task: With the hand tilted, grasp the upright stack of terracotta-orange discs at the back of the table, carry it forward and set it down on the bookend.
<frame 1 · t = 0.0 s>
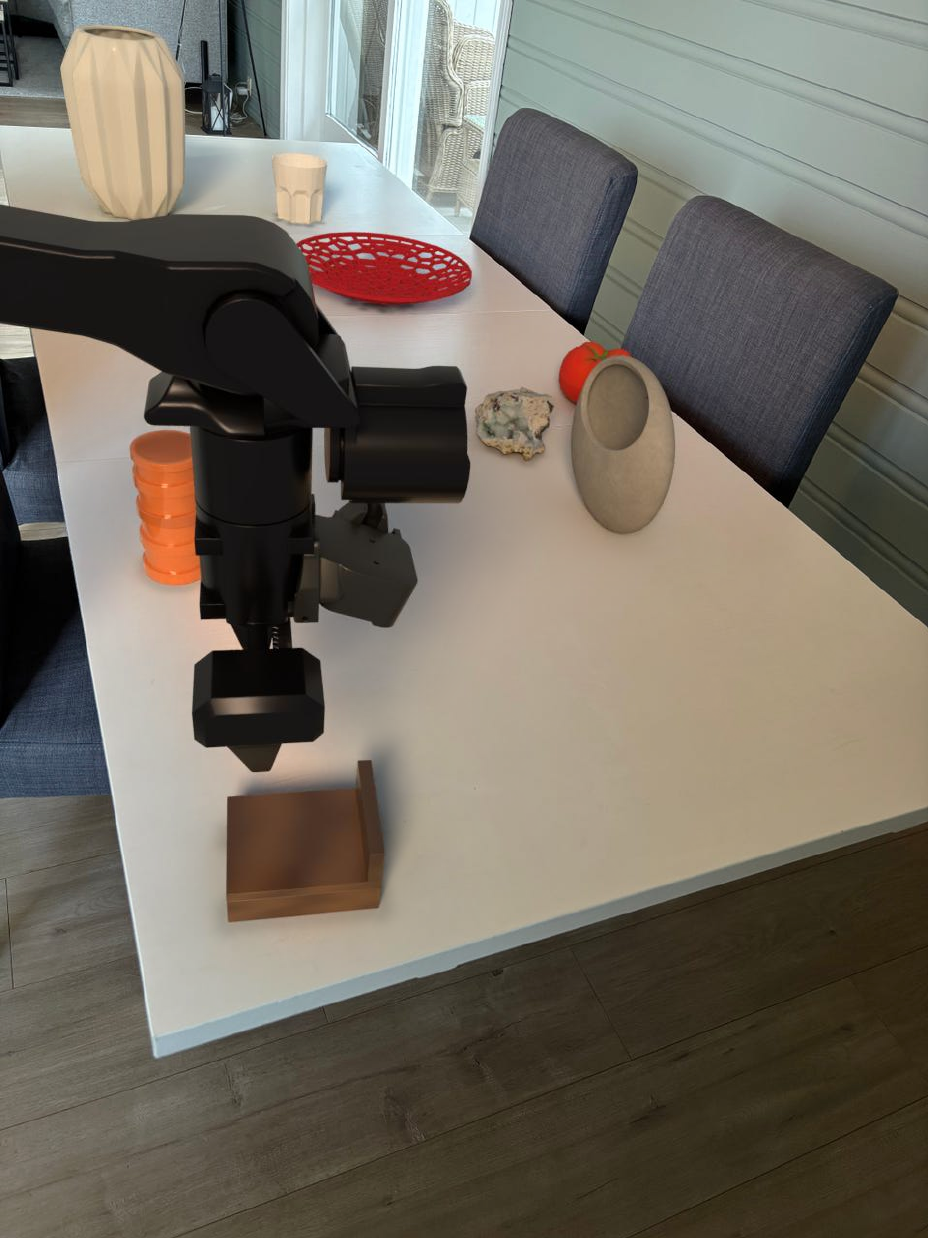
hand: (259, 711, 56), 14 cm above the table, tool pointing down, fingers open, 9 cm apart
mineral specimen: (507, 440, 116), on the table
cup: (298, 217, 174), on the table
bowl: (378, 295, 149), on the table
planter: (600, 520, 104), on the table
disc stack: (177, 565, 88), on the table
bookend: (301, 865, 64), on the table
vase: (137, 211, 165), on the table
tomato: (593, 403, 128), on the table
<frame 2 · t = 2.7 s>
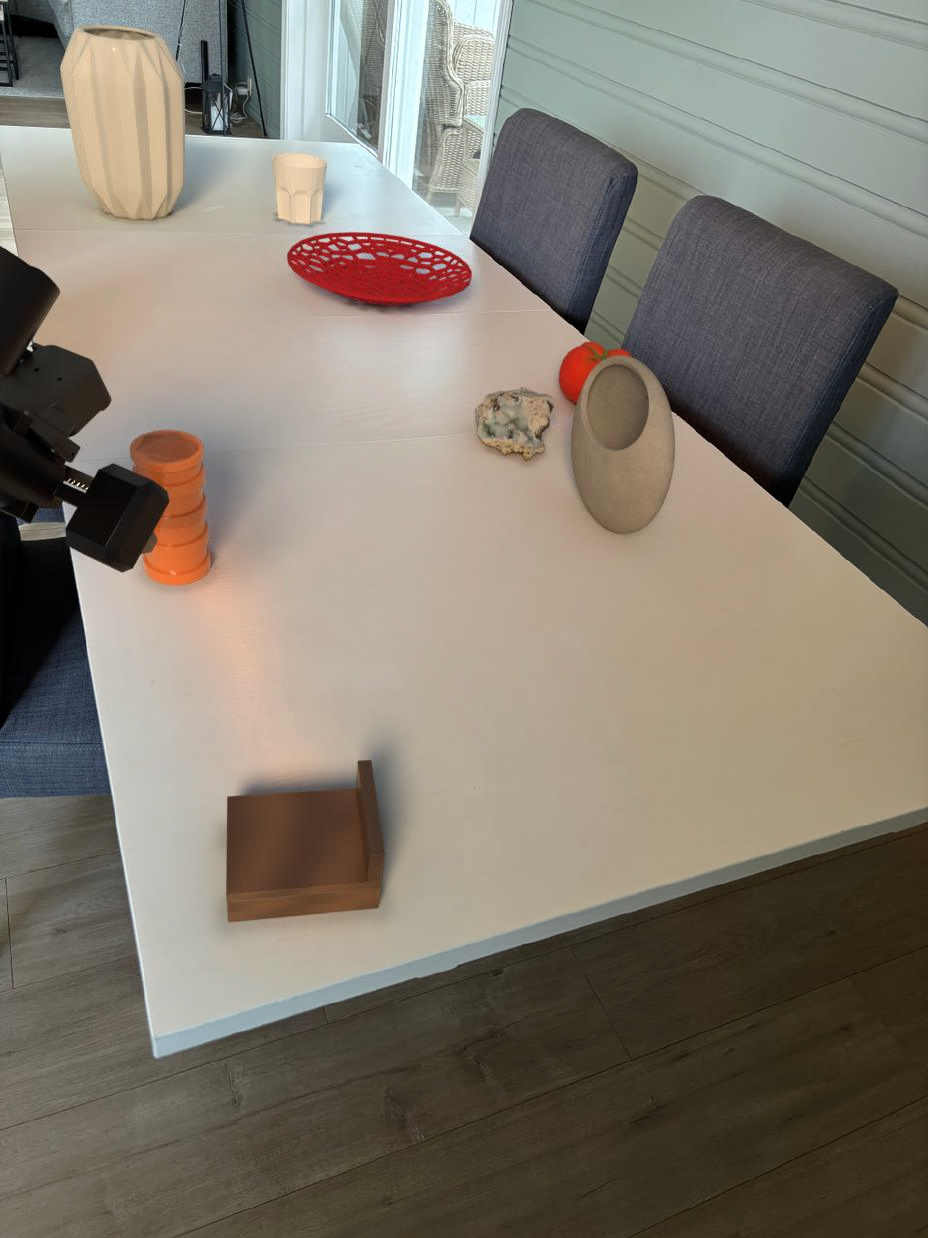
hand: (105, 523, 70), 13 cm above the table, tool tilted 40°, fingers open, 9 cm apart
nothing on the table moved.
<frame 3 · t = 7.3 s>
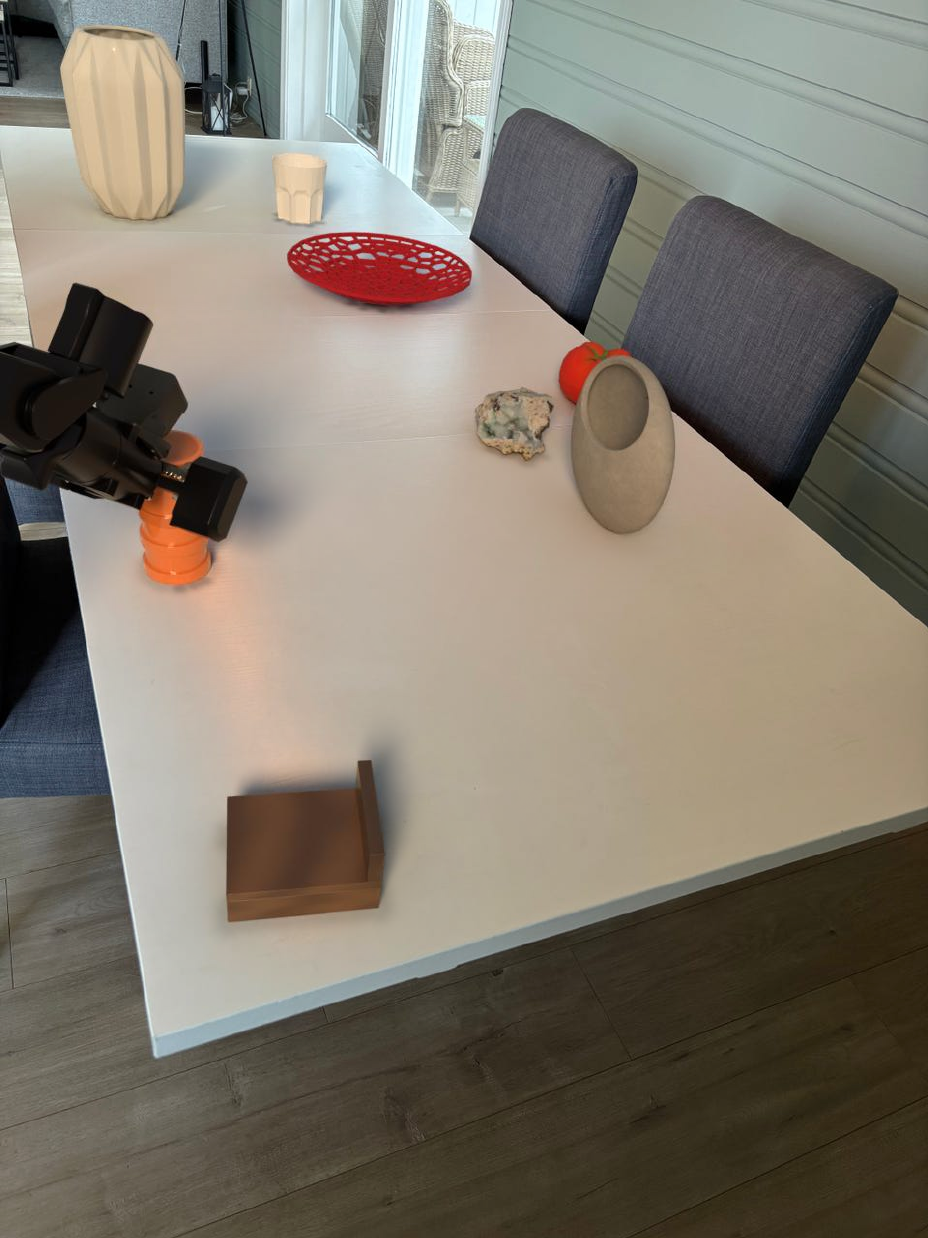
hand: (181, 501, 85), 7 cm above the table, tool tilted 45°, fingers closed on disc stack, 6 cm apart
disc stack: (177, 565, 88), on the table, touching gripper
everything else where it was.
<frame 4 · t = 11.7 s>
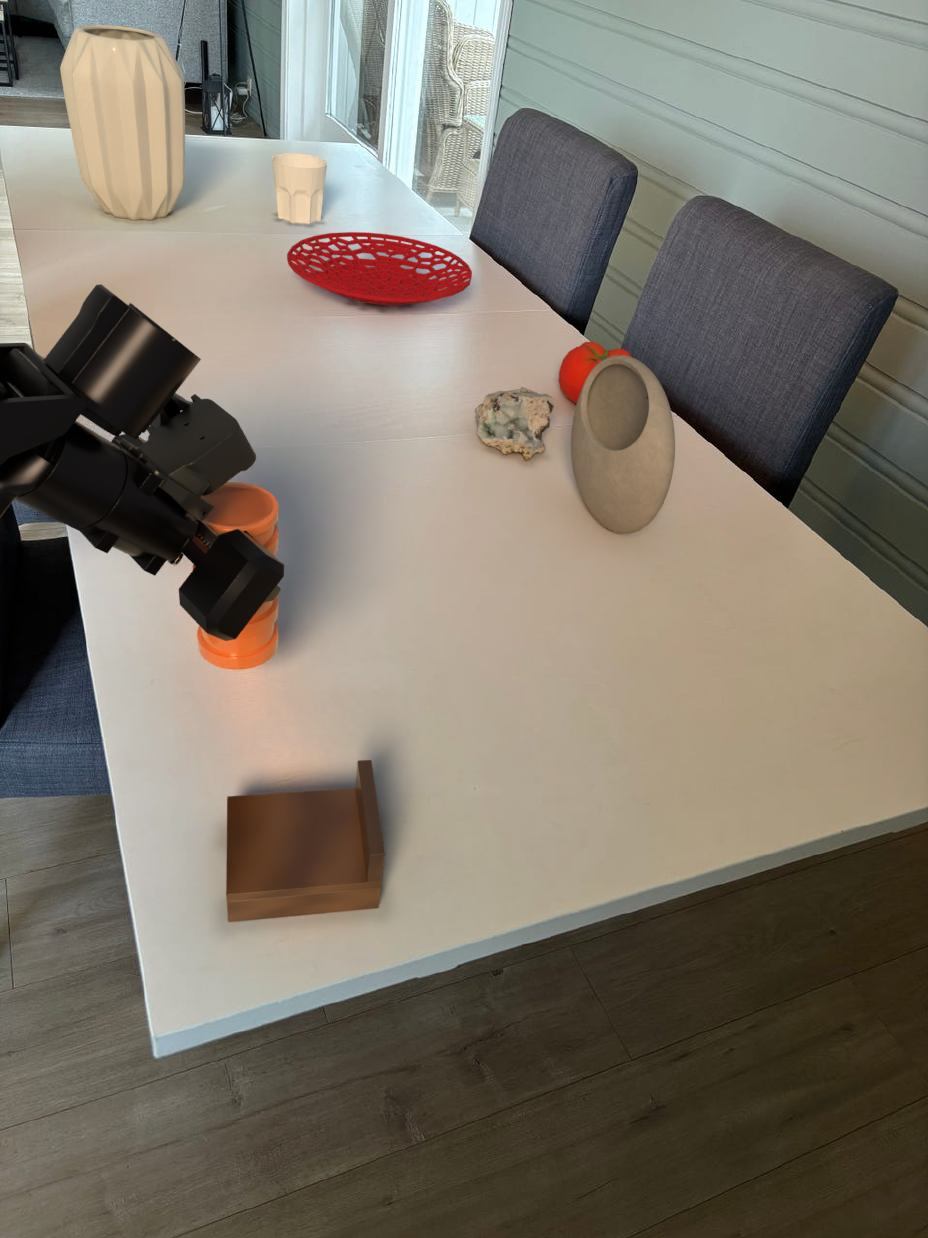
hand: (252, 571, 69), 12 cm above the table, tool tilted 45°, fingers closed on disc stack, 6 cm apart
disc stack: (238, 643, 72), point 6 cm above the table, touching gripper
everything else where it was.
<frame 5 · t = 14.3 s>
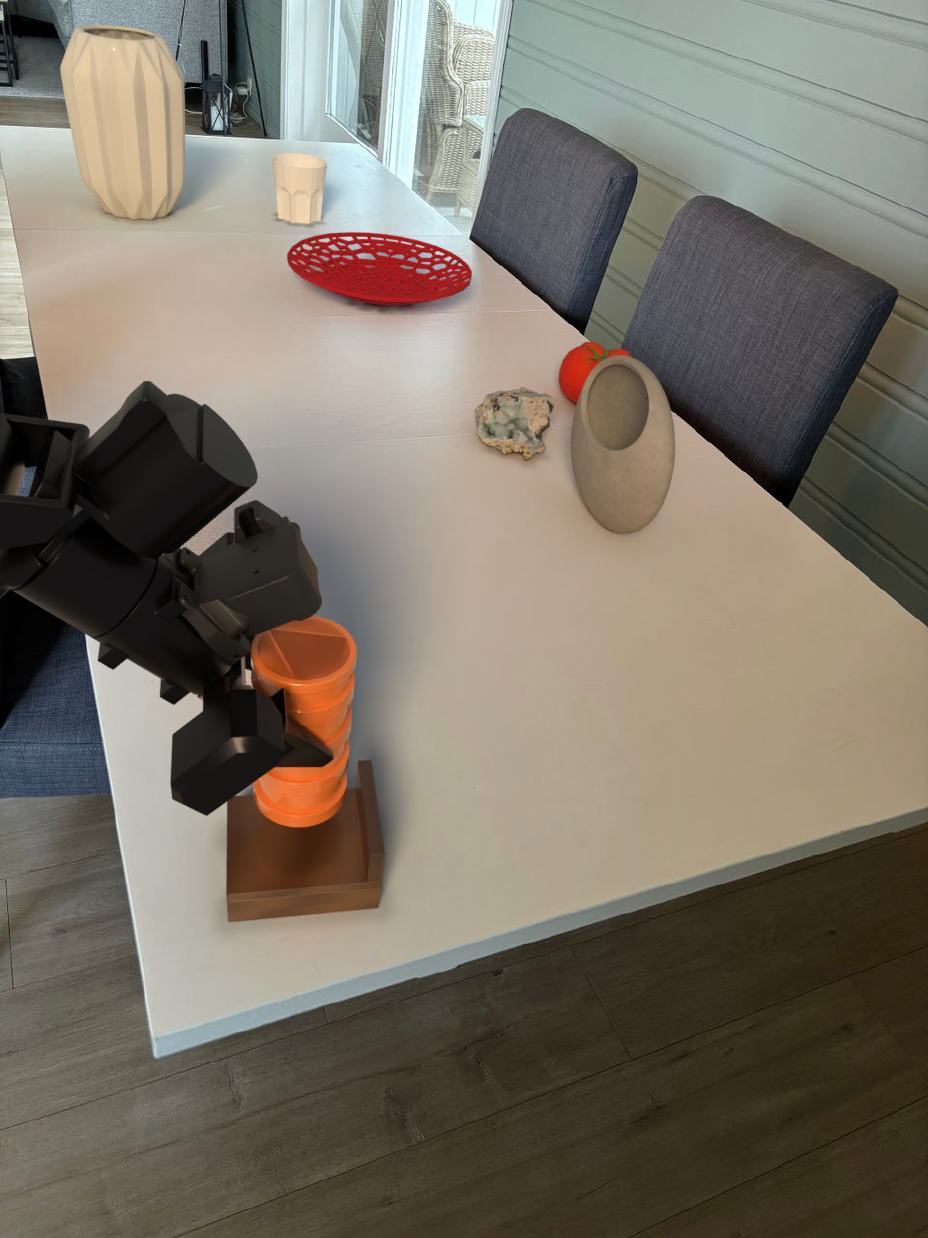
hand: (323, 722, 58), 12 cm above the table, tool tilted 45°, fingers closed on disc stack, 6 cm apart
disc stack: (300, 790, 62), point 6 cm above the table, touching gripper
everything else where it was.
when the fingers open (10 cm above the table, at t = 16.5 s): disc stack stays where it is, resting on bookend.
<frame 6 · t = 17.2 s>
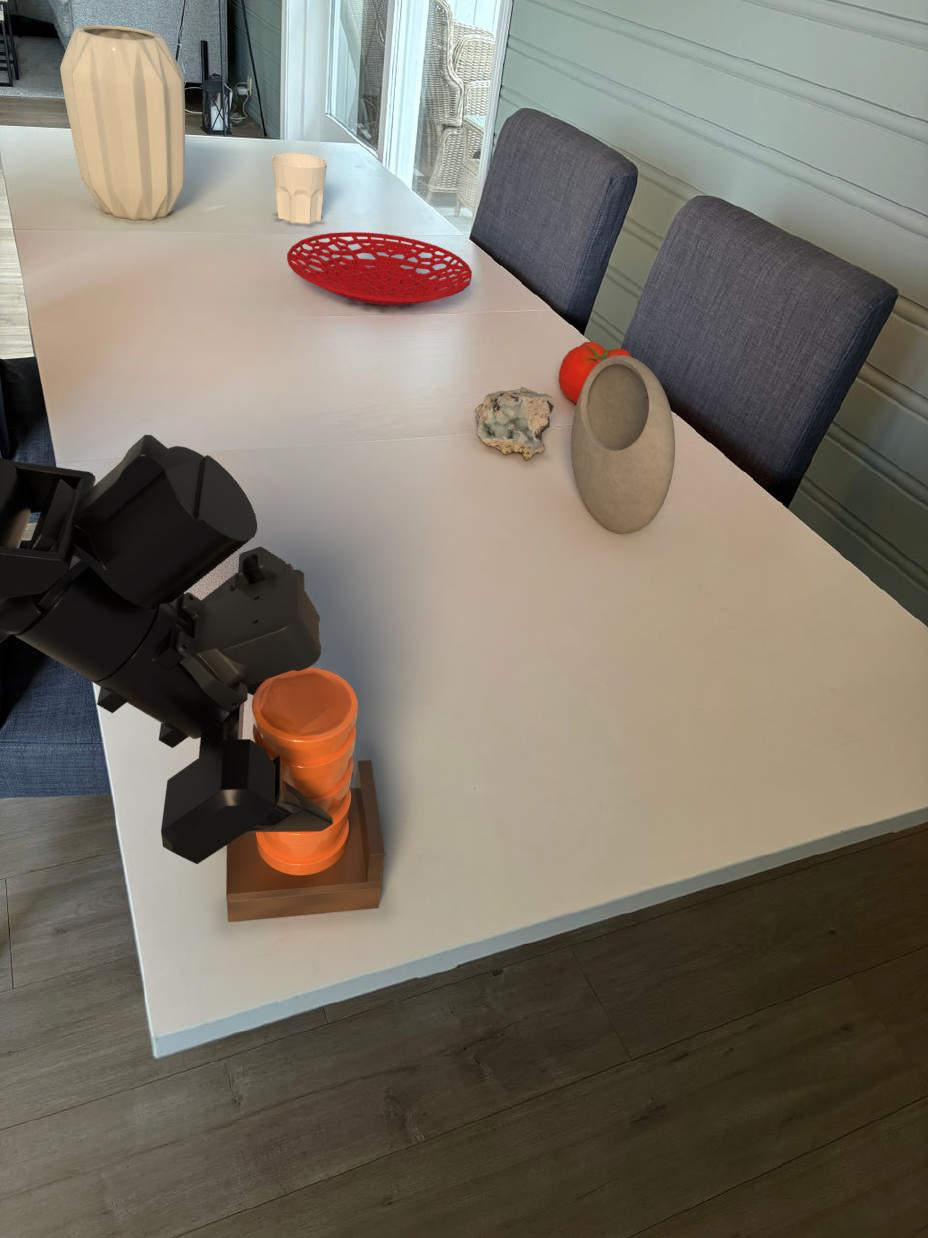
hand: (325, 766, 58), 10 cm above the table, tool tilted 45°, fingers open, 9 cm apart
disc stack: (302, 836, 62), point 3 cm above the table, touching bookend
everything else where it was.
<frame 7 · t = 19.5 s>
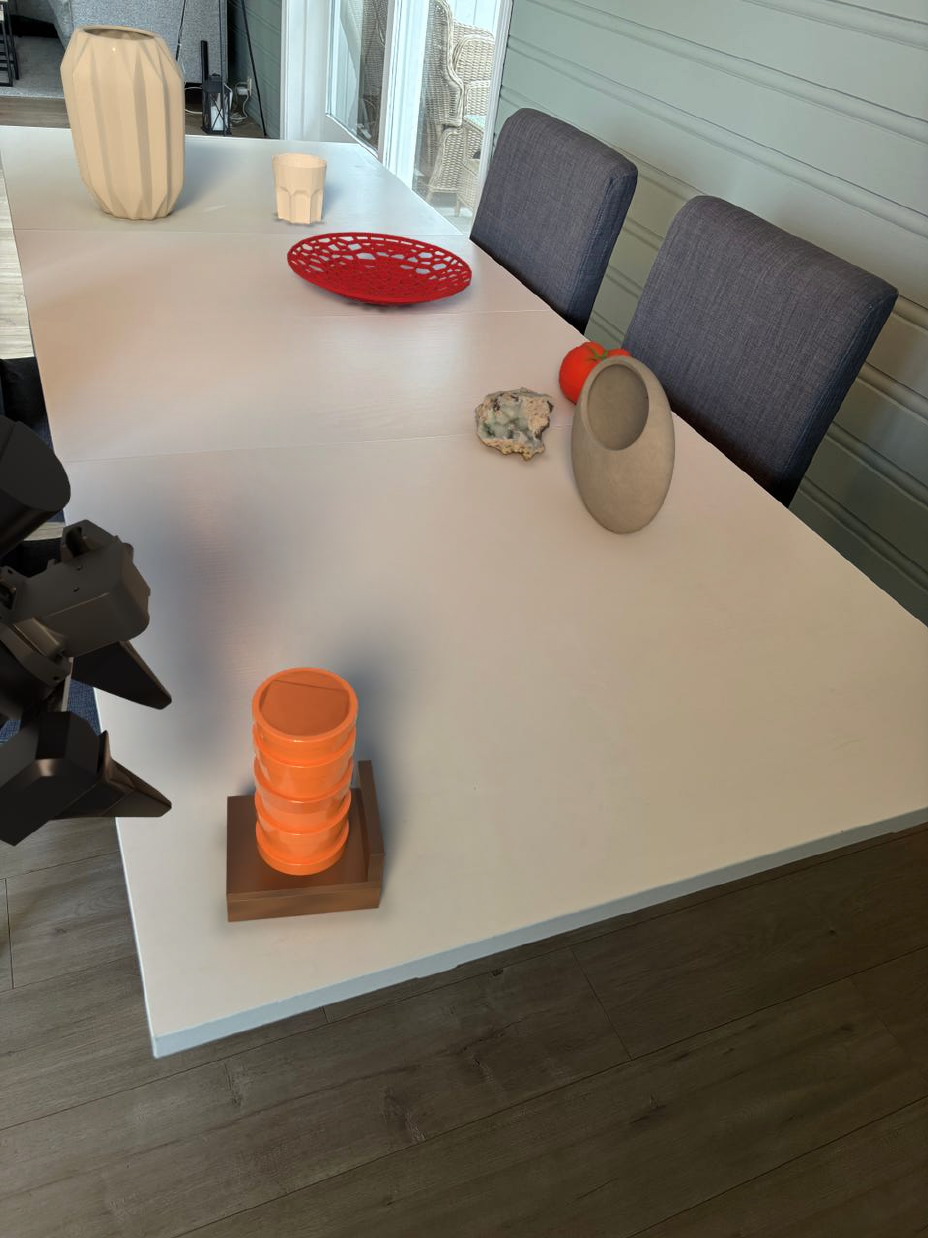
hand: (167, 754, 56), 11 cm above the table, tool tilted 40°, fingers open, 9 cm apart
nothing on the table moved.
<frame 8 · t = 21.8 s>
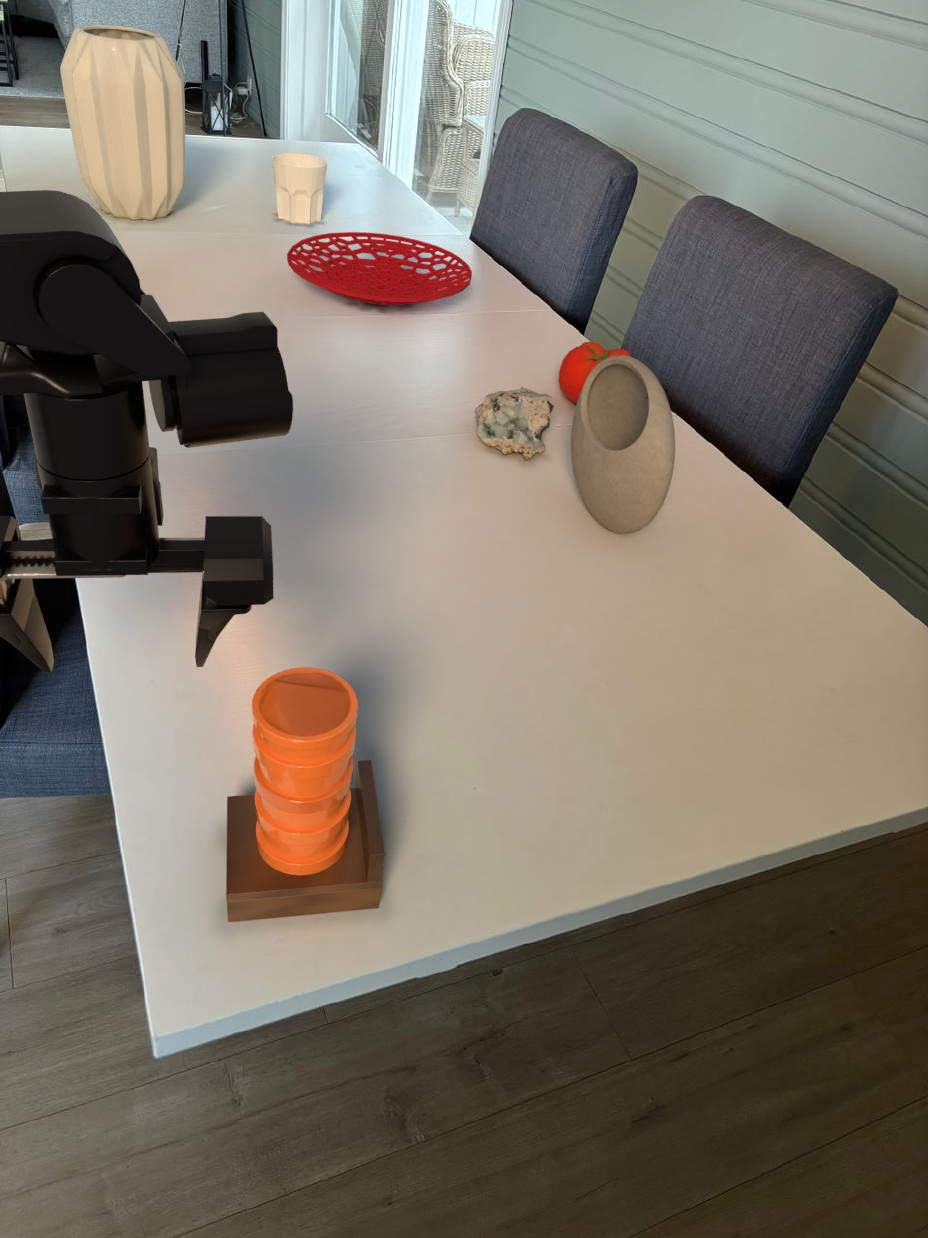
hand: (126, 665, 59), 13 cm above the table, tool pointing down, fingers open, 9 cm apart
nothing on the table moved.
at the end: disc stack 0.1 cm off-centre on the bookend, point 3.2 cm above the bookend's base; disc stack tilted 0° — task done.
